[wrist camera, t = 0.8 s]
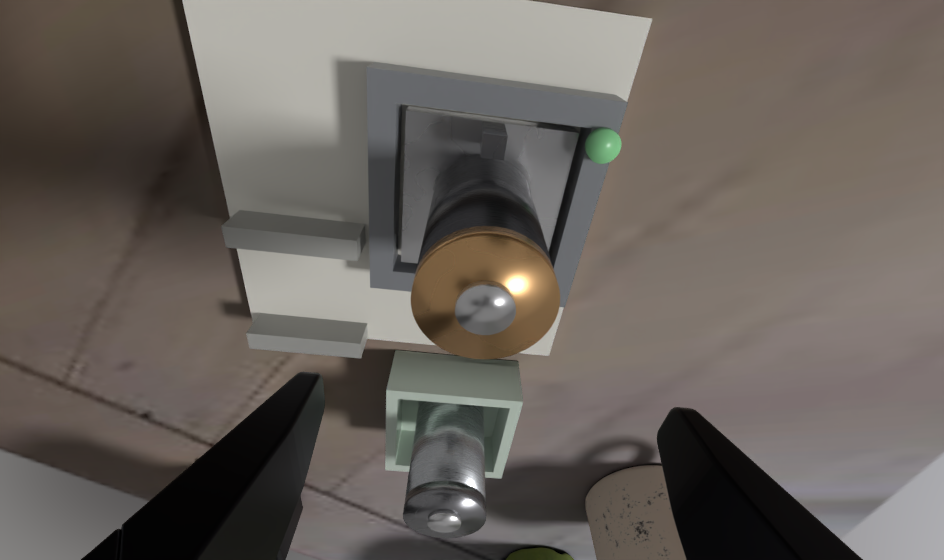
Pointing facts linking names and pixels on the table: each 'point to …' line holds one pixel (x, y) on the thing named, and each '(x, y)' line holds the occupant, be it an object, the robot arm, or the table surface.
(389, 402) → the cup
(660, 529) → the teacup with lid
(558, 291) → the cell
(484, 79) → the white square base board
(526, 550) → the plant pot
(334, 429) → the table surface
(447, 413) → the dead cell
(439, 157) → the cradle
